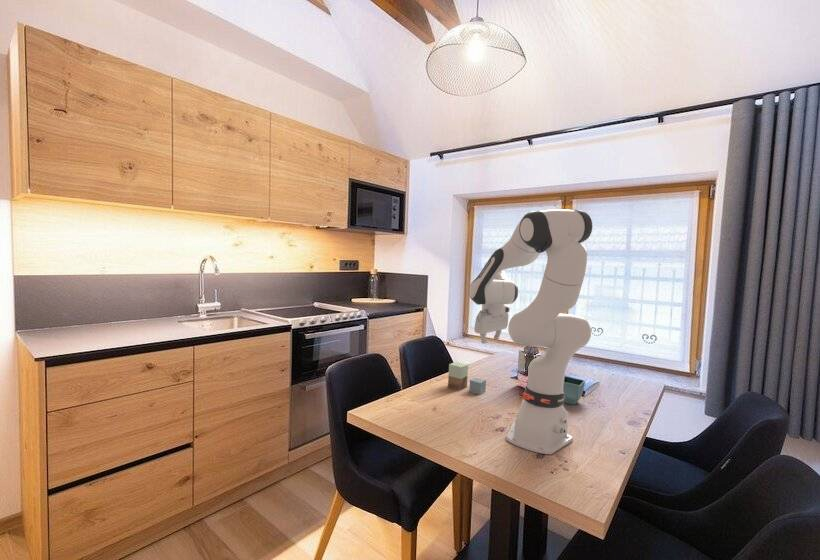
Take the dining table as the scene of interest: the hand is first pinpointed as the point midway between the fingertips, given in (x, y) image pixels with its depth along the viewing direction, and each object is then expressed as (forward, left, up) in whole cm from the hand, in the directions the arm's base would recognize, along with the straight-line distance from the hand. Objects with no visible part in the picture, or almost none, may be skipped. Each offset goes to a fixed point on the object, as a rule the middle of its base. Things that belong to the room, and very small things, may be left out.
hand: (490, 341), depth 157 cm
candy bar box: (+18, -11, -22) cm, 31 cm away
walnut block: (-3, +13, -22) cm, 25 cm away
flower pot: (+14, -29, -22) cm, 39 cm away
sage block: (-3, +13, -17) cm, 21 cm away
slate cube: (-2, +4, -22) cm, 22 cm away
